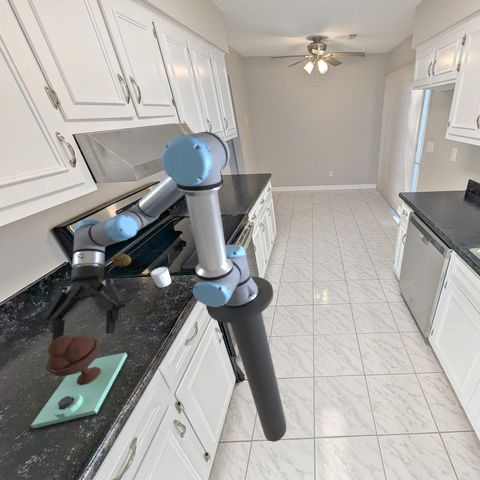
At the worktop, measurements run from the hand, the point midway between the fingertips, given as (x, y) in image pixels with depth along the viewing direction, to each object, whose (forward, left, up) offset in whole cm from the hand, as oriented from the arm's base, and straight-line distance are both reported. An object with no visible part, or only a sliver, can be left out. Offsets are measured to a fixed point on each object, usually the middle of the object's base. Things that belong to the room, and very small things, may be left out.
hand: (84, 338), depth 73 cm
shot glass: (-6, -40, -11) cm, 42 cm away
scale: (0, +8, -11) cm, 14 cm away
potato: (+20, -64, -11) cm, 68 cm away
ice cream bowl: (0, +5, -10) cm, 11 cm away
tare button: (0, +14, -8) cm, 16 cm away
